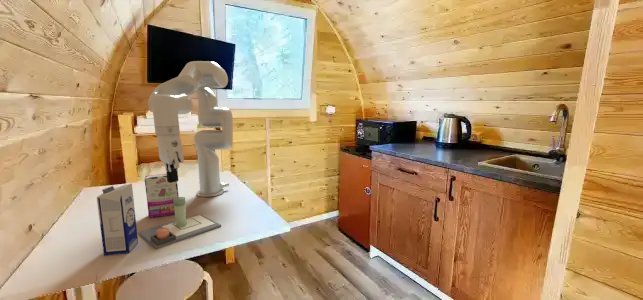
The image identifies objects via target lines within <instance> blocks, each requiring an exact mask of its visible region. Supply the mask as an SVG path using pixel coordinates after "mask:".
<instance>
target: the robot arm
mask: <svg viewBox="0 0 643 300" xmlns="http://www.w3.org/2000/svg"><path fill="white" fill-rule="evenodd" d="M228 82H229V77H228V74H227V72H226V70H225V69H224V68H223V67H221V65H219V64H218V63H217V62H215V61H209V60H207V61H206V60H205V61H203V60H196V61H195V60H193V61H189V62H187V63H186V64H185V66H184V67H183V68H182V70H181V72H180V73H179V74H178V76H176V77H173V78H171V79H169V80H166V81H165V82H163V83H160V84H158V85H157V86H156V87H155V88H154V90H153V91H152V92H151V94H150V95H149V98H148V103H147V105H148V107H149V110H150V111H151V112H152V115H153V123H154V124H153V125H154V131H155V137H156V138H157V150H158V157H159V160H160V161H161V162H162V163H163V164H164V167H165V172H166V173H165V174H167V181H168V182H169V183H172V182H176V181H177V182H179V174H178V171H179V168H180V164H183V163H184V162H185V158H184V151H183V145H182V141H181V137H180V136H181V133H180V123H179V115H187V114H189V113H190V112H191V111H192V110H193V100H192V98H191V97H190V95H192V94H195V93H196V96H197V101H198V102H197V104H198V105H197V106H198V108H197V110H198V111H197V112H198V115H197V118H198V119H197V121H198V124H199V126H200V127H203V128H221V129H202V130H199V131H197V132H195V134H194V136H193V137H194V138H193V139H194V144H195V149H196V153H197V167H198V179H199V181H198V182H199V183H198V184H199V189H198V190H197V192H196V195H197V196H198V197H202V198H206V197H207V198H210V197H211V198H212V197H215V196H217V197H218V196H220V195H222V194H223V193H224V191H225V190H224V188H225V187H229V186H230V183H229V182H225V183H224V182H221V178H220V177H221V176H220V175H221V173H220V160H219V159H220V158H219V156H218V154H217V153H216V151H215V150H218V151H219V150H221V151H222V150H230V149H231V148H232V146H233V140H234V119H233V118H234V117H233V113H232V111H231V109H230V108H227V107H218V98H217V96H216V94H215V93H214V92H213V91H212V89H223V88H226V86H227V85H228ZM179 163H180V164H179Z"/></svg>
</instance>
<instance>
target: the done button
mask: <svg viewBox="0 0 643 300" xmlns="http://www.w3.org/2000/svg"><path fill="white" fill-rule="evenodd" d="M156 234H157V240H161V239H164V238H167V237H170V236H169V228H160V229H158V230H156Z"/></svg>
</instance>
